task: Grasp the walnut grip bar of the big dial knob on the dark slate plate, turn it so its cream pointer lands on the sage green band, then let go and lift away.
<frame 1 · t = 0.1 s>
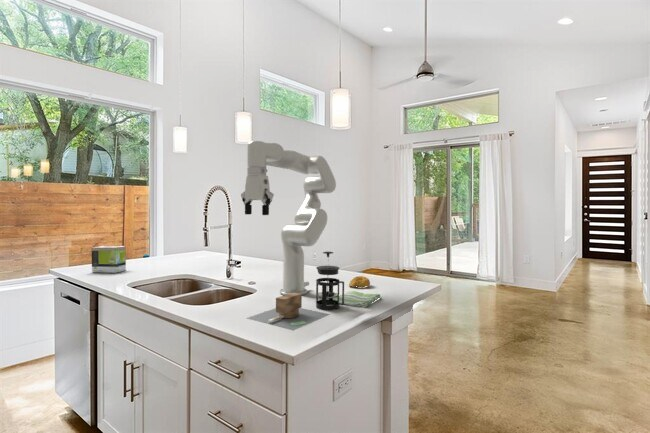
hand: (256, 214, 152), 37 cm above the worktop, tool pointing down, fingers open, 9 cm apart
tea box: (109, 271, 222), on the worktop
french press: (328, 311, 146), on the worktop
dial plate: (288, 320, 134), on the worktop
knob: (284, 307, 132), point 5 cm above the worktop, hinge at 0.0°
dish towel: (353, 303, 159), on the worktop
bagel: (359, 287, 188), on the worktop
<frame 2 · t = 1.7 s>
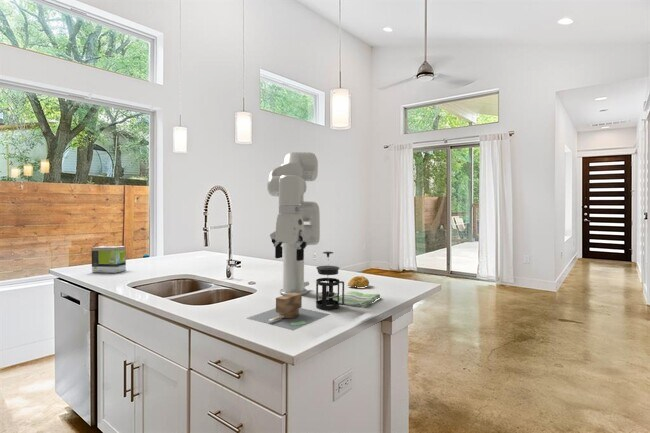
hand: (289, 259, 133), 22 cm above the worktop, tool pointing down, fingers open, 9 cm apart
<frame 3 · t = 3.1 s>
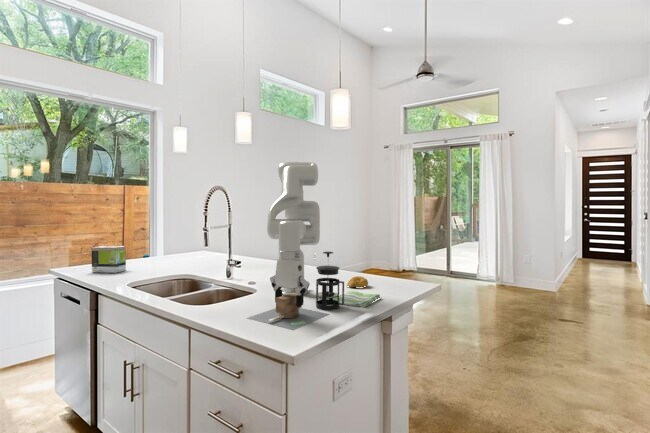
hand: (289, 303, 133), 6 cm above the worktop, tool pointing down, fingers open, 9 cm apart
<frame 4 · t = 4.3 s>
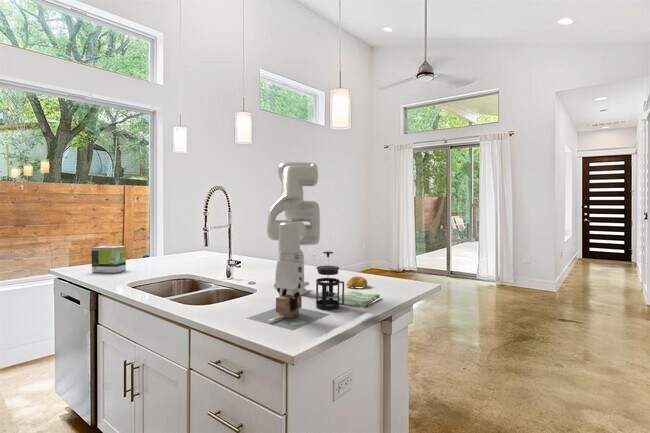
hand: (289, 307, 134), 4 cm above the worktop, tool pointing down, fingers closed on knob, 3 cm apart
knob: (284, 307, 132), point 5 cm above the worktop, hinge at 0.0°, touching gripper
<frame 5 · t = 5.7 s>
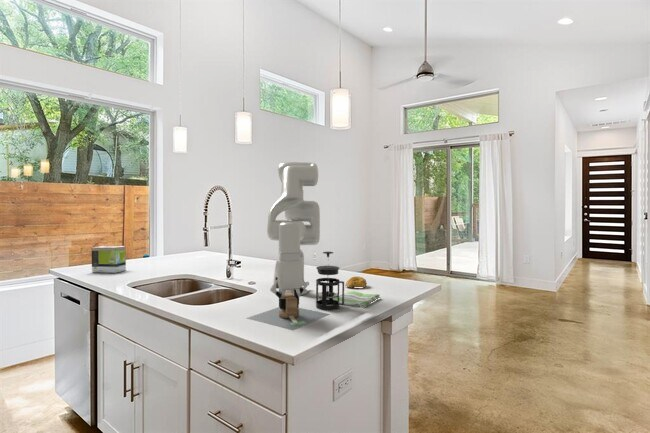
hand: (289, 307, 134), 5 cm above the worktop, tool pointing down, fingers closed on knob, 4 cm apart
knob: (290, 307, 131), point 5 cm above the worktop, hinge at 52.6°, touching gripper
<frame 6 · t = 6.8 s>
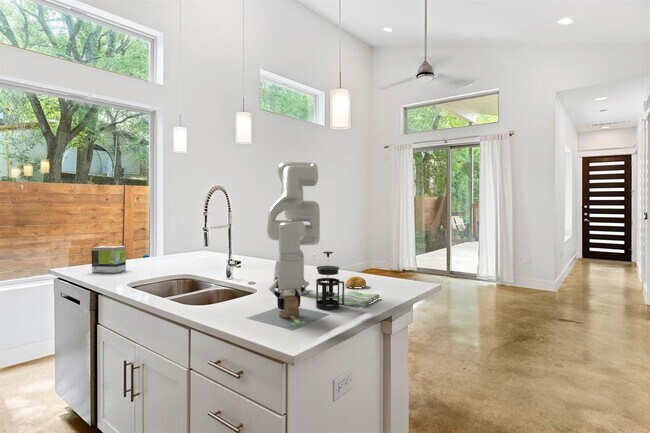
hand: (289, 307, 134), 5 cm above the worktop, tool pointing down, fingers open, 5 cm apart
knob: (291, 307, 131), point 5 cm above the worktop, hinge at 57.4°
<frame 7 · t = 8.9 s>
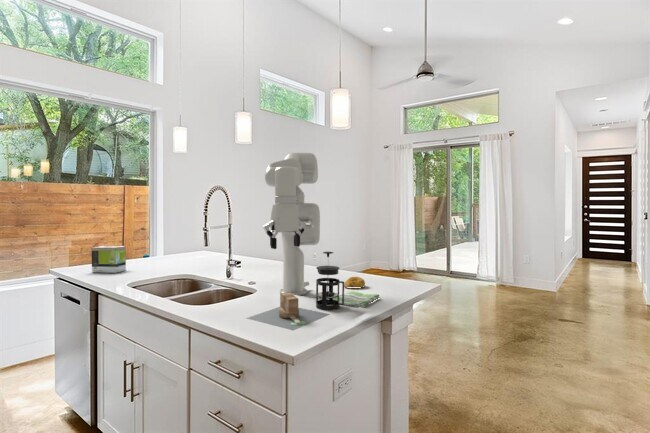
hand: (285, 247, 139), 25 cm above the worktop, tool pointing down, fingers open, 9 cm apart
knob: (291, 307, 131), point 5 cm above the worktop, hinge at 57.9°
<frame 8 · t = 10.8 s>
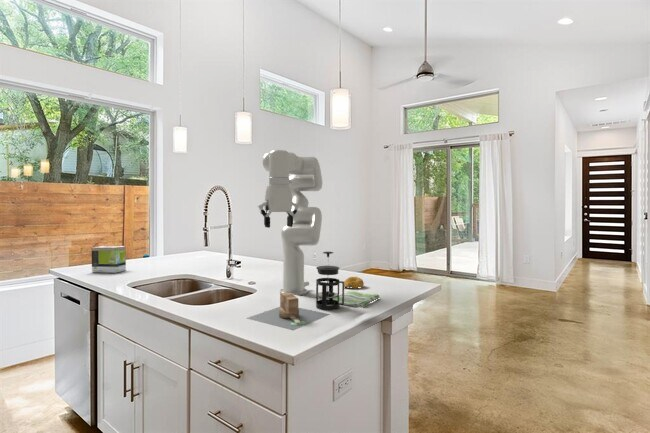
hand: (278, 226, 146), 32 cm above the worktop, tool pointing down, fingers open, 9 cm apart
at the end: knob at +58° (first picture: +0°); the gripper is holding nothing; french press moved 0.2 cm from its start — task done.
